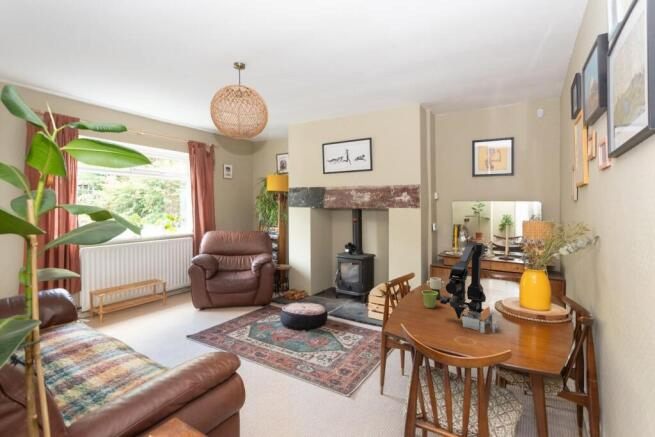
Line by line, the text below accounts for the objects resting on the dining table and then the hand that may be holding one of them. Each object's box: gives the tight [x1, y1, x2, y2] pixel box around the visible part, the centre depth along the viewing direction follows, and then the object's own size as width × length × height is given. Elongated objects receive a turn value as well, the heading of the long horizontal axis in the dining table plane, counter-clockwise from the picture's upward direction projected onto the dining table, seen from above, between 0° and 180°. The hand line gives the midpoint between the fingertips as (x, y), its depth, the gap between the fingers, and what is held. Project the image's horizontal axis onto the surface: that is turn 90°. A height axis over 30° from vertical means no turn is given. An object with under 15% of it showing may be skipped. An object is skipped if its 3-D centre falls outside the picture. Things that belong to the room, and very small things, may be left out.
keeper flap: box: [481, 306, 491, 321], centre depth 165 cm, size 12×5×1 cm
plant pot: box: [421, 289, 438, 309], centre depth 199 cm, size 9×9×9 cm
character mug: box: [426, 276, 445, 300], centre depth 215 cm, size 11×7×13 cm, turn 74°
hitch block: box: [462, 311, 499, 334], centre depth 167 cm, size 14×14×6 cm
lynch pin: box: [460, 313, 491, 327], centre depth 168 cm, size 4×13×4 cm, turn 49°
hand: (459, 318), depth 174 cm, fingers closed
